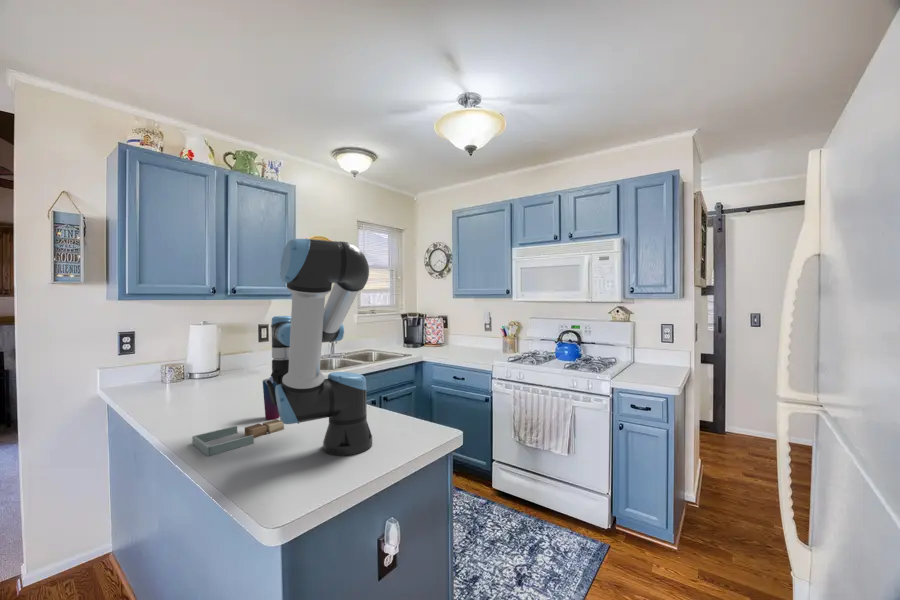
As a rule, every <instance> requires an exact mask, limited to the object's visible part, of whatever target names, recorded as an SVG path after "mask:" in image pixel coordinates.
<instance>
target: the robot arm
mask: <svg viewBox="0 0 900 600" xmlns="http://www.w3.org/2000/svg"><path fill="white" fill-rule="evenodd" d="M282 251H283V252H282V255H281V261H280V272H279V274H280V275H279V276H280V279H281V281H282V282H284V283H285V284H286V289H287V290H288V291H289V292H290V293H291V312H290V315H275V316H273V317H271V324H270V327H271V358H272V360H271V371H272V372H271V374H270V377H268V378H265V379H266V380H265V379H264V380H265V381H264V382H265V383H266V385H267V387H268V390H269V394H270V398H271V401H272V404H274V405H276V406H277V407H278V414H279V415H280V417H279V419H280V421H282V422H283V423H284V425H293V424H300V423H305V422H310V421H317V420H321V419H327V418H328V425H327V427H326V431H325V435H324V437H323V441H322V444H323V445H322V449H323V451H324V452H325V453H326V454H329V455H332V456H350V455H356V454H359V453H363V452H365V451H367V450H369V449H370V448H371V447H372V446H373V435H372V432H371V429H370V426H369V423H368V420H367V415H368V414H367V413H368V412H367V411H368V410H367V409H368V408H367V402H368V401H367V390H368V388H367V380H366V376H364V375H363V374H360V373H357V372H347V371H334V372H333V371H332V372H329V373H328V374H327V378H325V375H324V374H323V373H322V372H321V358H322V357H321V356H322V345H323V344H322V343H333V342H335V343H336V342H341V341H342V340H343V339H344V334H345V327H344V323H343V322H344V321H345V318H346V317H347V314H348V313H349V311H350V309H351V306H352V305H353V303H354V300H356V296H357V294H358V293H359V292H360V291H362V290H363V289H364V288H365V286H366V285H367V282H368V279H369V276H370V268H369V267H370V266H369V262H368V260H367V258H366V255H365V254H364V252H362V250H361V249H359V247H358V246H356V245H355V244H353V243H349V242H347V241H341V240H340V241H336V240H335V241H334V240H326V239H325V240H323V239H313V238H291V239H290V240H289V241H288V242H286V244H285V247H284V249H283V250H282ZM332 284H334V285H332ZM328 294H329V296H328V298H327V301H325V300H326V295H328ZM325 302H326V303H325ZM273 380H274V381H275V382H276V389H274V386H273V384H272V383H273Z"/></svg>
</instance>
